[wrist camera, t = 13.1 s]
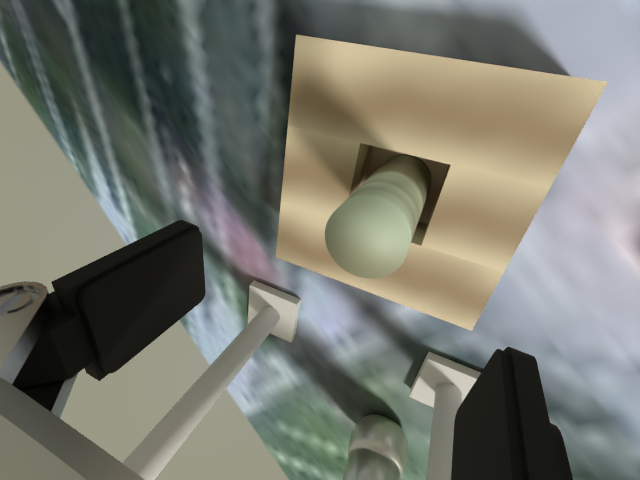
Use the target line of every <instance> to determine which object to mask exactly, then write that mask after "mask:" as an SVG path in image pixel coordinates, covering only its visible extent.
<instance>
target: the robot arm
mask: <svg viewBox="0 0 640 480" xmlns="http://www.w3.org/2000/svg"><path fill="white" fill-rule="evenodd" d="M52 285H53V288H54V290H55V291H54V292H52V293H50V294H49V293H48V290H47V287H46V286H44V285H43V284H41V283H37V282H18V283H13V284H9V285H5V286H1V287H0V480H145V479H143V478H142V477H141V476H139V475H138V474H136V473H135V472H134V471H132V470H131V469H130V468H128V467H127V466H125V465H124V464H123V463H121V462H120V461H118V460H117V459H116V458H114V457H113V456H111V455H110V454H109V453H107V452H106V451H105V450H103V449H102V448H100V447H99V446H98V445H96V444H95V443H93V442H92V441H91V440H89V439H88V438H86V437H85V436H84V435H82V434H81V433H79V432H78V431H77V430H75V429H73V428H72V427H71V426H69V425H68V424H67V423H65V422H64V421H62V420H61V419H60V417H61V414H62V412H63V410H64V407H65V404H66V402H67V399H68V397H69V394H70V392H71V389H72V387H73V384H74V382H75V379H76V377H77V374H78V372H80V371H81V370H82V369H84V368H85V370H86V373H88V374H89V375H91V376H92V377H94V378H95V379H98V380H99V381H100V380H101V379H102V378H104V377H105V376H106V375H107V374H109V373H113V372H115V371H117V370H118V369H120V368H121V367H122V366H123V365H124V364H126V363H127V362H128V361H129V360H131V359H132V358H133V357H134V356H135V355H137V354H138V353H139V352H140V351H141V350H143V349H144V348H145V347H146V346H147V345H149V344H150V343H151V342H152V341H154V340H155V339H156V338H157V337H158V336H160V335H161V334H162V333H163V332H165V331H166V330H167V329H168V328H169V327H171V326H172V325H173V324H174V323H176V322H177V321H178V320H179V319H181V318H182V317H183V316H184V315H185V314H187V313H188V312H189V311H190V310H192V309H193V308H194V307H195V306H196V305H198V304H199V303H200V302H201V301H202V300H203V298H204V296H205V277H204V261H203V246H202V234H201V232H200V231H199V228H198V227H197V226H196V225H193V224H191V223H188V222H186V221H183V220H179V221H177V222H174V223H172V224H170V225H168V226H166V227H164V228H162V229H160V230H158V231H156V232H154V233H152V234H150V235H148V236H146V237H143V238H141V239H139V240H137V241H135V242H133V243H131V244H129V245H127V246H125V247H123V248H121V249H119V250H117V251H115V252H113V253H111V254H109V255H106V256H104V257H102V258H100V259H98V260H96V261H94V262H92V263H90V264H88V265H86V266H84V267H81V268H80V269H77V270H75V271H73V272H71V273H69V274H67V275H65V276H63V277H61V278H59V279H57V280H55V281H52ZM451 480H573V478H572V474H571V470H570V465H569V461H568V457H567V453H566V449H565V445H564V441H563V437H562V435H561V432H560V430H559V429H558V427H557V426H555V425H553V424H551V423H550V421H549V416H548V412H547V407H546V403H545V398H544V393H543V389H542V384H541V379H540V375H539V370H538V366H537V361H536V359H535V357H534V356H531V355H529V354H526V353H524V352H521V351H518V350H516V349H513V348H511V347H507V348H506V349H505V350H504V351H502V350H500V349H497V350H496V351H495V352H494V354H493V355H492V357H491V358H490V360H489V361H488V363H487V364H486V366H485V368H484V369H483V371H482V372H481V374H480V375H479V377H478V378H477V380H476V382H475V383H474V385H473V386H472V388H471V389H470V391H469V392H468V394H467V396H466V397H465V399H464V400H463V402H462V403H461V405H460V406H459V408H458V410H457V413H456V416H455V421H454V436H453V453H452V469H451Z"/></svg>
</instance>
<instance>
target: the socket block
mask: <svg viewBox="0 0 640 480" xmlns="http://www.w3.org/2000/svg"><path fill="white" fill-rule="evenodd" d="M607 83H608V82H604V81H597V80H591V79H584V78H577V77H571V76H564V75H558V74H551V73H545V72H538V71H532V70H525V69H518V68H512V67H505V66H499V65H492V64H486V63H479V62H473V61H466V60H459V59H453V58H446V57H440V56H433V55H427V54H420V53H414V52H407V51H401V50H394V49H387V48H381V47H374V46H368V45H361V44H355V43H348V42H342V41H335V40H328V39H322V38H315V37H309V36H302V35H296V42H295V52H294V63H293V74H292V85H291V96H290V107H289V118H288V129H287V140H286V150H285V161H284V172H283V183H282V194H281V205H280V216H279V227H278V238H277V248H276V257H277V258H279V259H282V260H285V261H287V262H290V263H293V264H295V265H298V266H301V267H303V268H306V269H309V270H311V271H314V272H317V273H319V274H322V275H325V276H327V277H330V278H333V279H335V280H338V281H341V282H343V283H346V284H349V285H351V286H354V287H357V288H359V289H362V290H365V291H367V292H370V293H373V294H375V295H378V296H381V297H383V298H386V299H389V300H391V301H394V302H396V303H399V304H402V305H404V306H407V307H410V308H412V309H415V310H418V311H420V312H423V313H426V314H428V315H431V316H434V317H436V318H439V319H442V320H444V321H447V322H450V323H452V324H455V325H458V326H460V327H463V328H466V329H468V330H471V331H472V329H473V327H474V326H475V324H476V322H477V320H478V318H479V316H480V315H481V313H482V311H483V309H484V307H485V306H486V304H487V302H488V300H489V298H490V296H491V295H492V293H493V291H494V289H495V287H496V285H497V284H498V282H499V280H500V278H501V276H502V275H503V273H504V271H505V269H506V267H507V265H508V264H509V262H510V260H511V258H512V256H513V254H514V253H515V251H516V249H517V247H518V245H519V244H520V242H521V240H522V238H523V236H524V234H525V233H526V231H527V229H528V227H529V225H530V223H531V222H532V220H533V218H534V216H535V214H536V213H537V211H538V209H539V207H540V205H541V203H542V202H543V200H544V198H545V196H546V194H547V192H548V191H549V189H550V187H551V185H552V183H553V182H554V180H555V178H556V176H557V174H558V172H559V171H560V169H561V167H562V165H563V163H564V161H565V160H566V158H567V156H568V154H569V152H570V151H571V149H572V147H573V145H574V143H575V141H576V140H577V138H578V136H579V134H580V132H581V130H582V129H583V127H584V125H585V123H586V121H587V120H588V118H589V116H590V114H591V112H592V110H593V109H594V107H595V105H596V103H597V101H598V99H599V98H600V96H601V94H602V92H603V90H604V88H605V87H606V85H607ZM399 154H408V155H412V156H416V157H418V158H420V159H421V160H422V161H423V162H424V163H425V164H426V165H427V167H428V168H429V170H430V173H431V186H430V189H429V192H428V195H427V198H426V201H425V204H424V206H423V209H422V212H421V215H420V218H419V221H418V224H417V227H416V230H415V232H414V235H413V238H412V241H411V244H410V247H409V250H408V253H407V255H406V258H405V260H404V262H403V263H402V265H401V266H400V267H399V268H398V269H397V270H396V271H395V272H393V273H392V274H390V275H388V276H385V277H382V278H377V279H367V278H361V277H358V276H355V275H352V274H350V273H348V272H347V271H345V270H344V269H342V268H341V267H340V266H339V265H338V264H337V263H336V262H335V261H334V260H333V258H332V257H331V255H330V253H329V251H328V249H327V246H326V243H325V228H326V224H327V221H328V219H329V218H330V216H331V215H332V213H333V212H334V211H335V210H336V209H337V208H338V207H339V206H340V205H341V204H342V203H343V202H344V201H346V200H347V199H348V198H349V197H350V196H351V195H352V194H353V193H354V192H355V191H356V190H357V189H358V188H359V187H360V186H361V185H362V184H363V183H364V182H365V181H366V180H367V179H368V178H369V177H370V176H371V175H372V174H373V173H374V172H375V171H376V170H377V169H378V168H379V167H380V166H381V165H382V164H383V163H384V162H386V161H387V160H388V159H389V158H391V157H393V156H396V155H399Z"/></svg>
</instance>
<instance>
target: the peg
mask: <svg viewBox="0 0 640 480" xmlns="http://www.w3.org/2000/svg"><path fill="white" fill-rule="evenodd" d="M430 186H431V173H430V170H429V168H428V167H427V165H426V164H425V163H424V162H423V161H422V160H421V159H420V158H418V157H416V156H412V155H408V154H399V155H396V156H393V157H391V158H389V159H388V160H387V161H386V162H384V163H383V164H382V165H381V166H380V167H379V168H378V169H377V170H376V171H375V172H374V173H373V174H372V175H371V176H370V177H369V178H368V179H367V180H366V181H365V182H364V183H363V184H362V185H361V186H360V187H359V188H358V189H357V190H356V191H355V192H354V193H353V194H352V195H351V196H350V197H349V198H348V199H347V200H346V201H344V202H343V203H342V204H341V205H340V206H339V207H338V208H337V209H336V210H335V211H334V212H333V213H332V215H331V216H330V218H329V219H328V221H327V224H326V228H325V243H326V246H327V249H328V251H329V253H330V255H331V257H332V258H333V260H334V261H335V262H336V263H337V264H338V265H339V266H340V267H341V268H342V269H344V270H345V271H347V272H348V273H350V274H352V275H355V276H358V277H361V278H367V279H377V278H382V277H385V276H388V275H390V274H392V273H393V272H395V271H396V270H397V269H398V268H399V267H400V266H401V265H402V263H403V262H404V260H405V258H406V255H407V253H408V250H409V247H410V244H411V241H412V238H413V235H414V232H415V230H416V227H417V224H418V221H419V218H420V215H421V212H422V209H423V206H424V204H425V201H426V198H427V195H428V192H429V189H430Z"/></svg>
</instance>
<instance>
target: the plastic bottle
mask: <svg viewBox="0 0 640 480" xmlns="http://www.w3.org/2000/svg"><path fill="white" fill-rule="evenodd" d="M407 457H408V443H407V439H406V436H405V434H404V432H403V430H402V429H401V427H400V426H399V425H398V424H397V423H396V422H394V421H393V420H391V419H389V418H387V417H385V416H382V415H375V414H372V415H367V416H365V417H363V418H362V419H360V420H359V421H358V422H357V424H356V426H355V427H354V429H353V431H352V433H351V438H350V443H349V451H348V459H347V464H346V468H345V472H344V477H343V480H400V478H401V476H402V474H403V471H404V468H405V465H406V461H407Z"/></svg>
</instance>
